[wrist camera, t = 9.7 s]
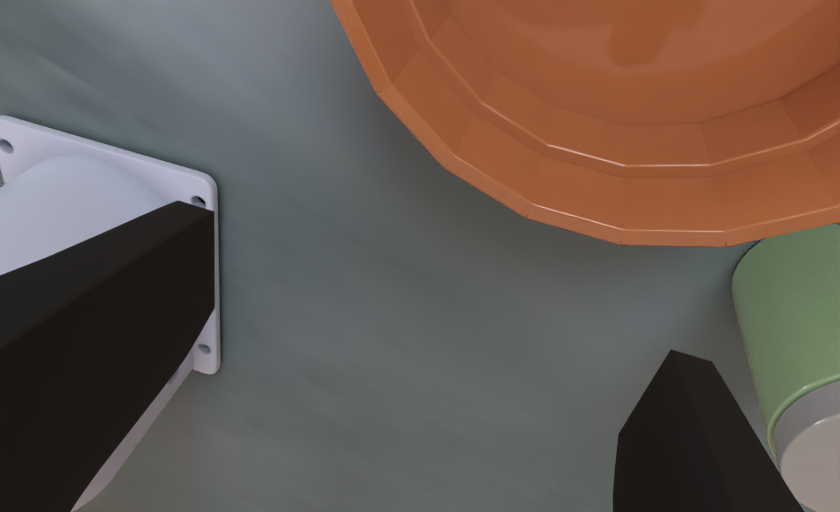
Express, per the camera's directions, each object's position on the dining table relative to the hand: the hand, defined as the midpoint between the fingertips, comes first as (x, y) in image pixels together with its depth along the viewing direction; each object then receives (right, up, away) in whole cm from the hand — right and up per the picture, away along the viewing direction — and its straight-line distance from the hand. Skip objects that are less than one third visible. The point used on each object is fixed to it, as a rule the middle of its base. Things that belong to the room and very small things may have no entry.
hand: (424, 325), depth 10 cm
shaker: (+11, 0, +8) cm, 14 cm away
